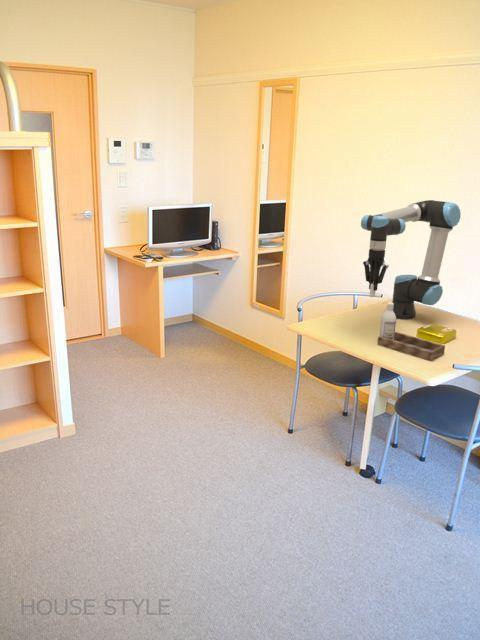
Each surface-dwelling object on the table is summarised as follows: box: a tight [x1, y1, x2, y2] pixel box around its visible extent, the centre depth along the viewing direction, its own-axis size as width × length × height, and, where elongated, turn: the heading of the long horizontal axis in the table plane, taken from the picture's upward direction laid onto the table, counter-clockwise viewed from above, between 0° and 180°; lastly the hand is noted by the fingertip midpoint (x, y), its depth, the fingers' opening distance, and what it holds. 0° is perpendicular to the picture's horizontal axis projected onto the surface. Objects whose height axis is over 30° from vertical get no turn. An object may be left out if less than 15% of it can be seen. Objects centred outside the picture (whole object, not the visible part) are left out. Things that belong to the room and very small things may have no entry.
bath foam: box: [379, 301, 397, 341], centre depth 262 cm, size 7×7×20 cm
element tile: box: [416, 322, 457, 345], centre depth 273 cm, size 15×15×5 cm
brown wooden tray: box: [377, 331, 446, 362], centre depth 256 cm, size 28×13×4 cm, turn 45°
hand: (372, 296), depth 265 cm, fingers closed
